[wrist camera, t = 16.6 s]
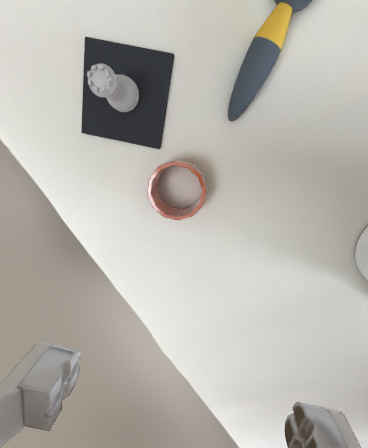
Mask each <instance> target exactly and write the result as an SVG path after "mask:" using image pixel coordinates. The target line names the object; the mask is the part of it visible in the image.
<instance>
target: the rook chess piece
mask: <svg viewBox="0 0 368 448" xmlns="http://www.w3.org/2000/svg"><path fill="white" fill-rule="evenodd" d="M87 76H88V81H87V82H88V84H89V86H90V89H91V91H92V92H93V93H94V94H95V95H97V96H99V97H106V98H107V100H108V102H109V104H110V105H111V106H112V107H113V108H115V109H116V110H118V111H120V112H128V111H131V110H133V109H134V107H135V106H136V105H137V103H138V99H139V90H138V88H137V85H136V84H135V82H134V81H133V80H132V79H131V78H129V77H127V76H125V75H115V74H114V71H113V70H112V69H111V68H110V67H109V66H107V65H105V64H96V65H93V66H91V70H90V71H88V72H87Z"/></svg>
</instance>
